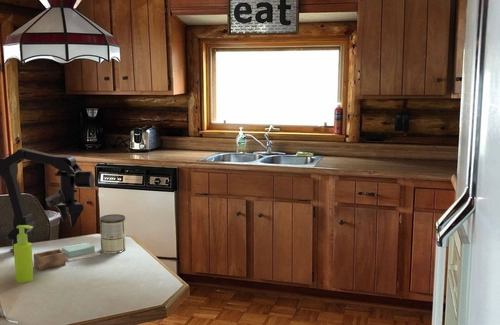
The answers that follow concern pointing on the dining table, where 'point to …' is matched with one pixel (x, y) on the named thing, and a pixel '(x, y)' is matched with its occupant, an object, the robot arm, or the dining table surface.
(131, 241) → the dining table surface
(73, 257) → the mat
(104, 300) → the dining table surface
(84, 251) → the lid
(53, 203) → the robot arm
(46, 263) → the wooden box
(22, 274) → the soap dispenser
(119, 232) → the coffee can
